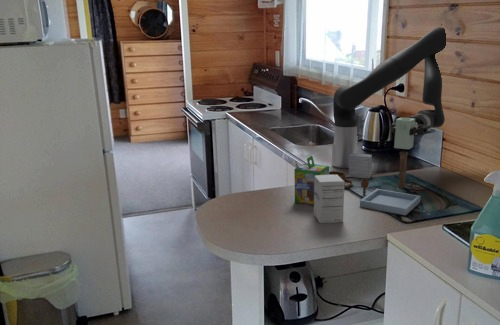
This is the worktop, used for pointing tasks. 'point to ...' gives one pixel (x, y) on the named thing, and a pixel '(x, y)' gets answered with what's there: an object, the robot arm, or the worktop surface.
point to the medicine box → (360, 165)
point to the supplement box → (328, 198)
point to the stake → (402, 169)
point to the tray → (390, 201)
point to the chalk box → (307, 180)
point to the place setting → (343, 176)
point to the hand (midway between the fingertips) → (402, 131)
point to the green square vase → (404, 133)
